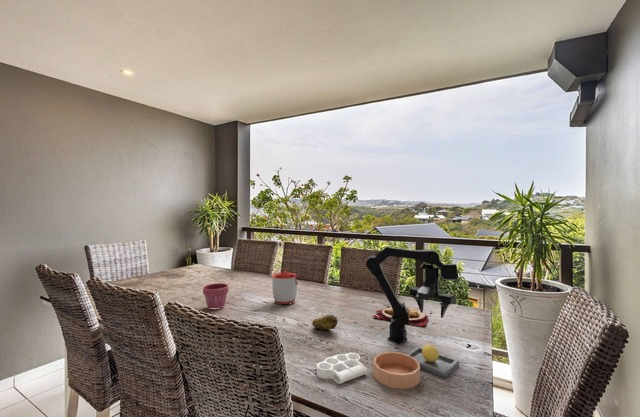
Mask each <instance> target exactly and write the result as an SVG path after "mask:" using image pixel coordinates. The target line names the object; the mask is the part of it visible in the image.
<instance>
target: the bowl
mask: <svg viewBox="0 0 640 417" xmlns="http://www.w3.org/2000/svg"><path fill="white" fill-rule="evenodd" d="M372 363H373V364H372V365H373V366H372V369H373V370H372V371H373V372H372V373H373V377H374V378H375V380H376V381H377V382H378V383H379V384H382V385H384V386H386V387H387V388H391V389H398V390H399V389H400V390H405V389H411V388H415V387H417V385H418V384H420V383H421V369H420V363H419V362H418V361H417V360H416V359H415V358H414V357H412V356H409V355H407V353H403V352H396V351H386V352H381V353H379V354H376V355H375V356H374V357H373V362H372Z"/></svg>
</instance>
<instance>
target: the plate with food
mask: <svg viewBox="0 0 640 417" xmlns="http://www.w3.org/2000/svg"><path fill="white" fill-rule="evenodd" d="M388 307H389V308H388ZM406 308H407V309H408V310H409V322H408V323H407V324H408V325H409V326H419V327H423V326H426V325H427V324H428V322H429V320H430V318H429V317H430V315H427V313H426V312H425V311H423V312H422V313H421V312H420V309H419V308H414V307H409V306H406ZM424 312H425V313H424ZM430 312H432V313H433V311H430ZM376 315H378V316H379V317H378V316H376ZM393 315H394V313H393V310H392V306H386V307H385V308H382V309H379V310H377V311H375V314H374V315H372V318H375V319H377V320H379V319H380V320H383V321H385V322H386V321H390V322H391V317H392V316H393ZM426 317H427V318H426ZM423 322H424V323H423Z"/></svg>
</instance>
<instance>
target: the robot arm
mask: <svg viewBox="0 0 640 417" xmlns="http://www.w3.org/2000/svg"><path fill="white" fill-rule="evenodd" d="M389 257H395V258H402V259H408V260H409V259H410V260H415V261H420V262H422V264H420V266H419V267H420V269H421V270H424V280H423V281H422V286H421V287H418V286H416V287H413V288H412V287H411V288H410V289H409V292H408V295H409V296H411V298H413V299H414V300H415V301H416V303H417V306H418V310H420V312H421V313H422V312H424V304H425V303H424V300H425V301H429V300H431V298H432V299H438V300H440V303H439V304H440V318H441V319H443V318H444V316H445V314H446V312H447V310H448V308H449V306H450V305H453V304H455V303H456V301H457V298H456V296H455V294H450V293H443V294H440V293H441V290H440V289H439V288H440V287H439V286H440V284H441V281H440V279H439V277H440V278H442V280H445V281H458V279H459V272H458V267H457V266H458V265H457V264H456V263H444V262H442V261H441V260H440V255H439V254H438V252H437V251H436V250H434V249H432V248H431V249H430V248H429V249H417V250H416V249H409V248H400V247H393V246H385V247H384V248H382V249H381V250H380V251H379V252H377V253H376V254H374V255H373V254H372V255H370V256H368V257H367V260H366V262H365V266H366V268H367V269H368V270H369V271H370V274H372V275H373V276H374V277H375V278H376V280H377V282H378V284H379V286H380V288H381V289H382V291H383V293H384V295H385V297H386V299H387V301H388V302H389V304H390V307H392V310H393V313H394V315H393V316H392V317H391V321H390V324H389V337H387V340H388V341H391V342H394V343H397V344H402V343H403V342H405V341H407V340H408V337H407V328H406V326H405V325H408V324H409V323H408V322H409V310H408V309H407V308H406V307H407V306H406V304H405V302H404V301H403V302H401V301H400V300H399V298H398V297H397V294H396V293H395V291H394V289H393V288H392V285H391V284H390V282H389V280H388V278H387V276H386V275H385V272H384V269H383V266H382V263H383V262H384V261H385V260H387V258H389Z"/></svg>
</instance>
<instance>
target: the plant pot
mask: <svg viewBox="0 0 640 417" xmlns="http://www.w3.org/2000/svg"><path fill="white" fill-rule="evenodd" d="M229 288H230V287H229V284H227V283H223V282H222V283H221V282H219V283H218V282H217V283H210V284H206V285H204V286H202V294H203V295H204V297H205V302H206V306H207V309H208V308H221V307H223V306H224V307H225V304H226V300H227V296H228V293H229Z"/></svg>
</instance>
